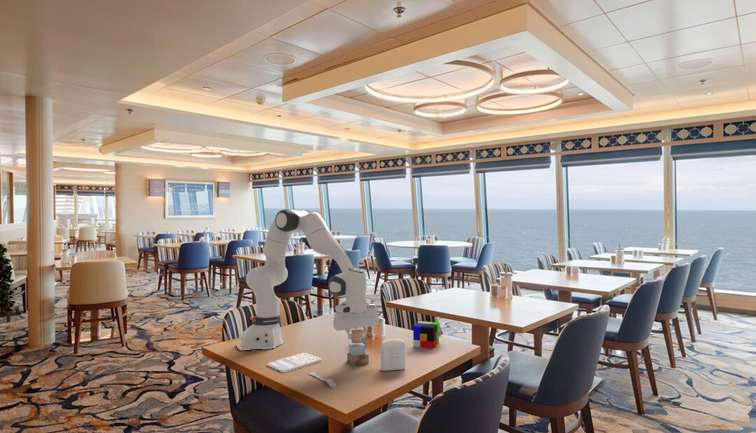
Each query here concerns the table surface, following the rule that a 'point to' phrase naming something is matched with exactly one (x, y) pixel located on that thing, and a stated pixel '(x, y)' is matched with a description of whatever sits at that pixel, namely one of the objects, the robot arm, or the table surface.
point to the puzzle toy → (425, 334)
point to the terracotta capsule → (356, 335)
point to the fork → (324, 380)
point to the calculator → (294, 362)
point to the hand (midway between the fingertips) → (356, 338)
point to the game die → (364, 337)
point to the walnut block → (358, 359)
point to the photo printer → (392, 354)
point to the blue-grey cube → (357, 349)
